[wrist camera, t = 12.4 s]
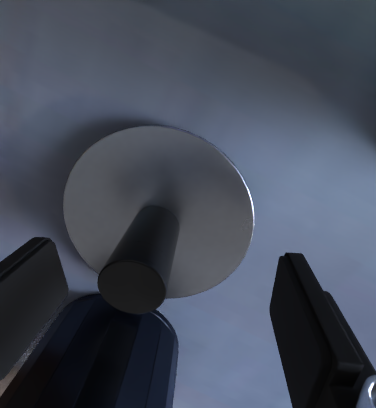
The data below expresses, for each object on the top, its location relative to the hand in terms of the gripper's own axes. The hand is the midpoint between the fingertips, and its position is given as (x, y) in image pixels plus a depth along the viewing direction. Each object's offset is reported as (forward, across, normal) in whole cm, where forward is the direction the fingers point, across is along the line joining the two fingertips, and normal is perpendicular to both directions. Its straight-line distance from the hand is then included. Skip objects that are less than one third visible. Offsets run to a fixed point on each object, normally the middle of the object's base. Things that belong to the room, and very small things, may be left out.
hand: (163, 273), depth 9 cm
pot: (+6, +6, +14) cm, 16 cm away
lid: (+6, +2, +1) cm, 6 cm away
